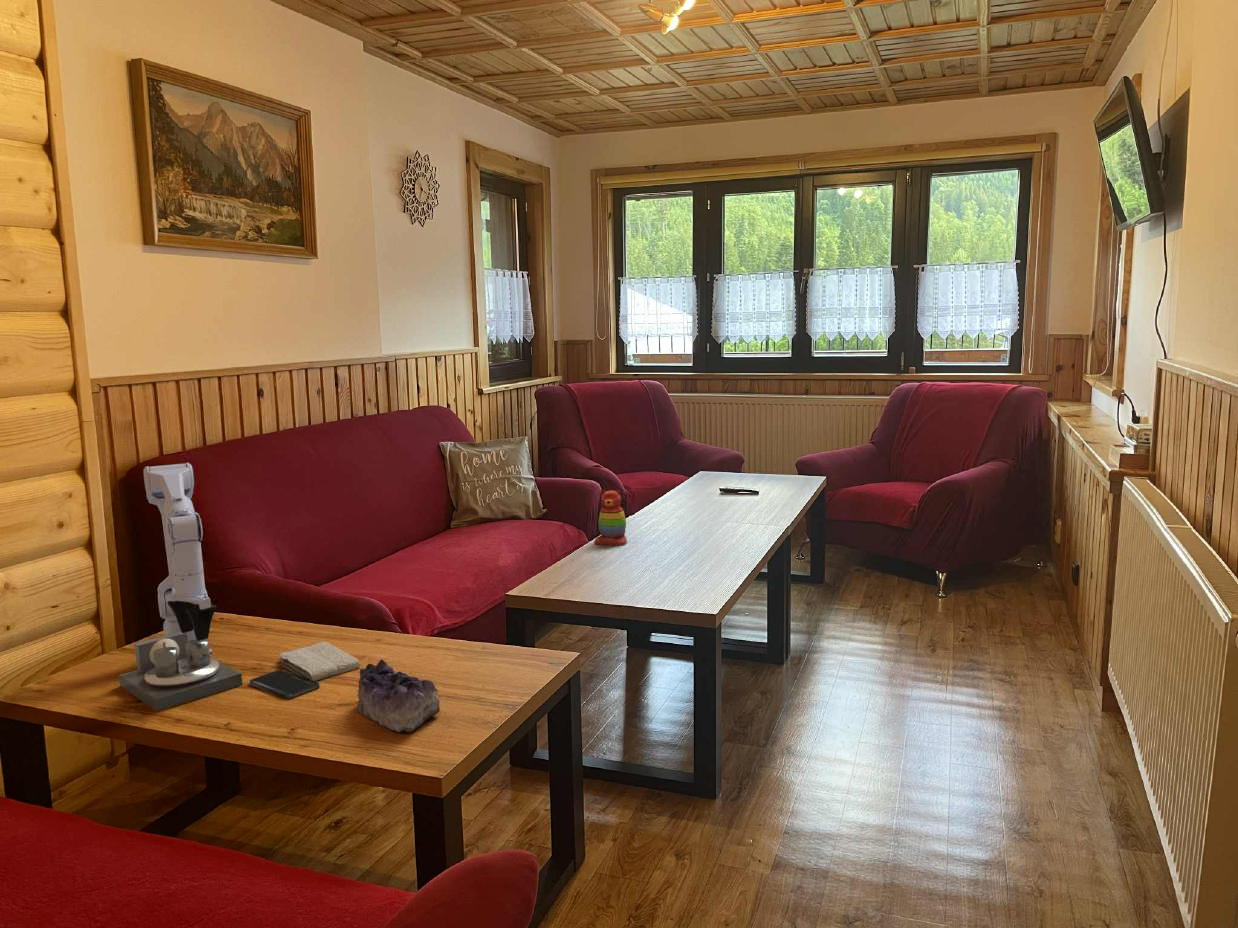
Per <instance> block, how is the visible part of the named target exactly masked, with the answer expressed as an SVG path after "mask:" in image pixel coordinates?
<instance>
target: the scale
mask: <svg viewBox="0 0 1238 928" xmlns="http://www.w3.org/2000/svg"><path fill="white" fill-rule="evenodd" d="M187 642H188V640H187V633H182V632H178V633H174V634H170V635H166V636H164V635H163V636H158V637H156V638H152V639H147V640H143V641H139V642H136V643H134V650H135V651H134V652H135V661H136V662H135V663H136V668H137V669H136V670H132V671H128V672H125V673H121V674H119V675H118V678H119V679H118V680H119V681H118V682H119V686H120V688H122V689H123V690H125V691H127V692H128V693H129V694H131V695H132V696H134V697H135V698H137V699H138V700H140V701H141V702H142V703H144V704H146V705H147V706H149V707H150V708H151V709H153V710H155V711H156V712H161V711H163V710H167V709H170V708H172V707H176V706H180V705H182V704H185V703H189V702H193V701H195V700H200V699H202V698H206V697H208V696H212V695H214V694H217V693H221V692H224V691H228V690H230V689H234V688H237V687H239V686H242V685H243V676H242V675H243V674H242V673H241V672H240V671H238V670H236V669H234V668H232V667H230V666H228V665H226V664H224V663H222V662H220V661H218V660H217V661H218V662H219V670H218V671H217V672H216V673H215V674H213V675H212V676H210V677H208V678H205V679H203V680H200V681H197V682H193V683H189V684H185V685H179V686H169V687H158V686H152V685H149V684H147V683H146V682H145V674H146V673H147V672H148V671H149V670H150V669H152V668H154V667H155V666H154V657H153V652H154V651H155V650H157V649H160V648H165V647H176V648H177V654H178V660H180V659H186V658H187V653H186V643H187ZM210 658H211V659H214V658H213V657H211V656H210Z"/></svg>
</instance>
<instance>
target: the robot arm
mask: <svg viewBox="0 0 1238 928" xmlns="http://www.w3.org/2000/svg"><path fill="white" fill-rule="evenodd" d="M143 480H144V488H145V492H146V494H145V495H146V499H147V500H148V503H149V504H152V505H155V506H157V508H158V511H159V512H160V515H161V520H162V527H163V528H162V529H163V537H164V545H165V552H166V559H167V561H166V562H167V568H168V576H167V577H166V578H165V579H164V580H163V581H161V582H160V583H159V584H158V587H157V601H158V602H157V603H158V610H159V615H160V618H162V619H163V620H164V622H163V626H162V629H163V636H166V635H170V634H174V633H178V632H182V633H187V640H188V641H191V640H194V639H197V640H198V641H200V640H204V639H208V640H209V635H210V629H211V623H212V619H213V617H214V614H215V612H216V610H217V605H216V604H214V603H212V602H211V598H210V597H209V596H208V591H207V589H206V584H205V573H204V562H203V556H202V555H203V553H202V546H201V545H202V543H201V542H202V541H203V525H202V519H201V517H200V514H199V513H198V512H196V511H195V508H194V504H193V501H192V500H191V499H192V498H193V497H192V496H193V494H194V487H195V477H194V469H193V466H192V464H191V463H190V462H185V463H175V464H165V465H154V466H153V465H152V466H149V465H148V466H145V467H144V468H143ZM199 540H200V541H199ZM170 589H171V590H170ZM209 649H210V654H211V653H213V649H211V648H209Z"/></svg>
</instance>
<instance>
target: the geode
mask: <svg viewBox="0 0 1238 928" xmlns="http://www.w3.org/2000/svg"><path fill="white" fill-rule="evenodd" d="M438 693H439V690H438V689H437V688H436V685H435V684H434V682H433V681H432V680H430V679H419V678H418V677H416V676H412V677H411V676H409V675H408V674H407V673H406V672H402V671H397V672H395V670H394V667H393V666H390V665H388V663H387V661H385V660H383V659H382V658H381V659H380V660H379V662H378V663H377V664H376V665H375V664H372V663H367V665H366V667H365V668H361V669H360V668H359V679H358V692H357V697H358V702H357V703H358V704H357V706H358V710H357V711H358V713H359V714H362V715H364V716H366V717H367V718H369V719H371V721H374V722H376V723H377V724H379V725H380V726H382V727H386V728H387V729H389V730H391V731H394V732H395V731H396V732H398V733H400V732H405V733H406V734H407V733H410V734H412V733H413V731H415V730H416V729H417V728H419V727H421V725H422V724H423V723H425V721H427V720H429V719H430V718H433V716H436V715H437V714H438V713H439V712H441V711H440V710H441V707H440V699H439V698H440V697H439V696H438Z"/></svg>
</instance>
